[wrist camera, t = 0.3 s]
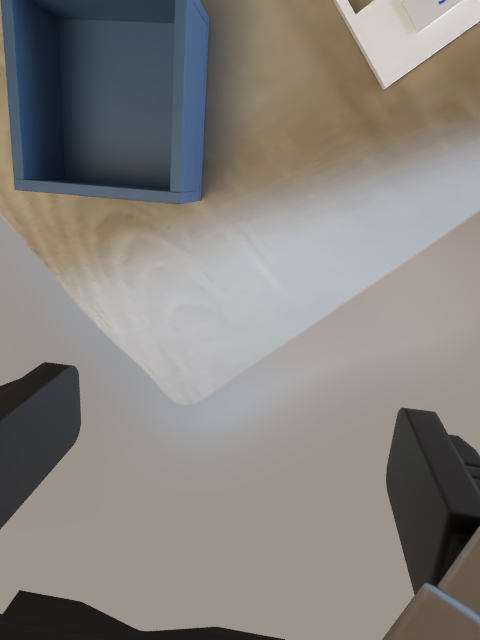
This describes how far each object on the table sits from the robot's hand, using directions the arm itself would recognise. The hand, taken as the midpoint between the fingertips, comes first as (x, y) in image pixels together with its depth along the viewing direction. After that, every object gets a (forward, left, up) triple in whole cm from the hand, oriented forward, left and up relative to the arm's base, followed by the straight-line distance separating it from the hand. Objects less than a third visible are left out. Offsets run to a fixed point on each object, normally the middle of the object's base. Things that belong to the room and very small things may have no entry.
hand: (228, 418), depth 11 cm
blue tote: (-10, -14, -29) cm, 34 cm away
